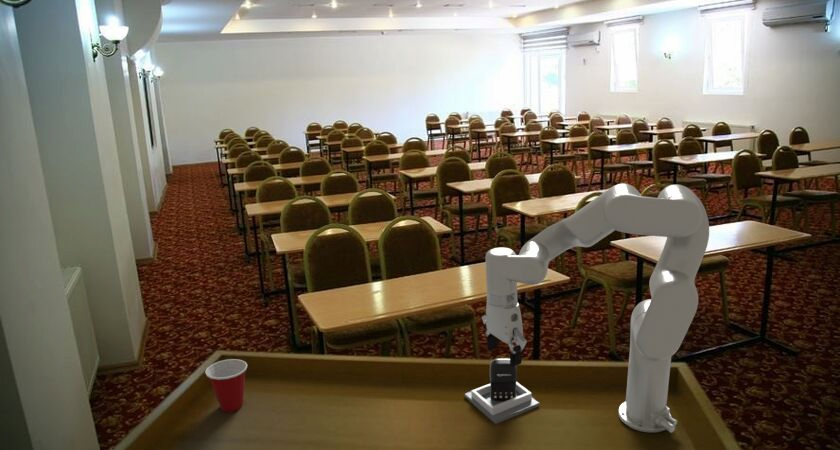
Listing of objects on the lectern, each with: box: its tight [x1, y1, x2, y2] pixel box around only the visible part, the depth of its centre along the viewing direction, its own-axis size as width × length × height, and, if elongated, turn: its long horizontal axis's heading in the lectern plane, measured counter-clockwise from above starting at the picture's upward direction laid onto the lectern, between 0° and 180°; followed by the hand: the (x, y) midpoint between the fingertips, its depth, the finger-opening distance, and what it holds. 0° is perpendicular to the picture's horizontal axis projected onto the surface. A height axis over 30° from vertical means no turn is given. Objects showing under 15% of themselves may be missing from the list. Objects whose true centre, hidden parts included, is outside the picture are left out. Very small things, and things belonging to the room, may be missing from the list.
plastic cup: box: [204, 358, 248, 413], centre depth 167 cm, size 11×11×12 cm
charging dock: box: [464, 381, 540, 425], centre depth 165 cm, size 14×14×3 cm
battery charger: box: [489, 357, 518, 401], centre depth 163 cm, size 7×4×11 cm, turn 86°
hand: (504, 356), depth 161 cm, fingers open, 9 cm apart
